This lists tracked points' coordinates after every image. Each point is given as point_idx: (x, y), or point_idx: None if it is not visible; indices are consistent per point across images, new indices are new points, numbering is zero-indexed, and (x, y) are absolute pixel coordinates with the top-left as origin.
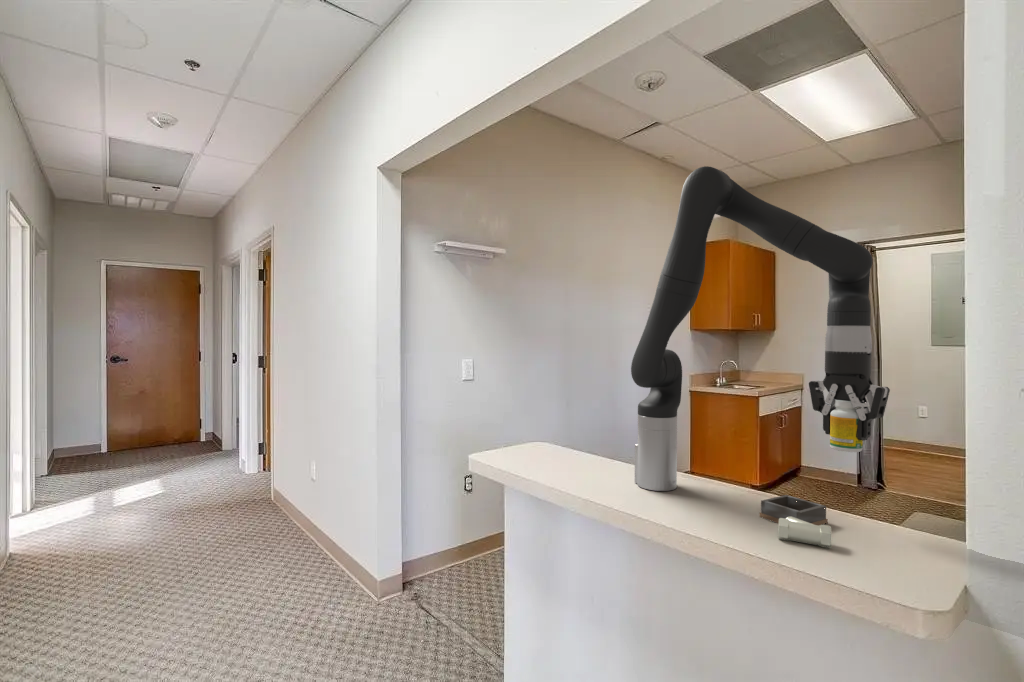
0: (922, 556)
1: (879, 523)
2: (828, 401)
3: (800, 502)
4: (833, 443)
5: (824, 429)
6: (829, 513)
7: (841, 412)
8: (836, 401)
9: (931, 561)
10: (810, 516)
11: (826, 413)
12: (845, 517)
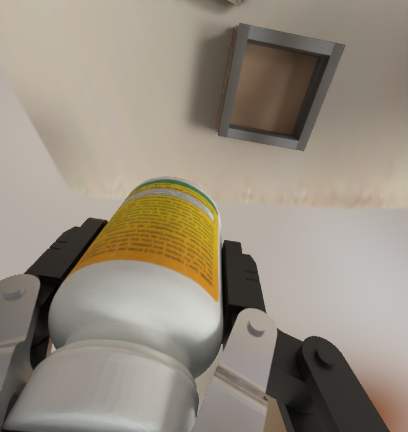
0: (54, 82)
1: None
2: (233, 411)
3: (268, 134)
4: (194, 191)
5: (247, 258)
6: (231, 187)
7: (121, 298)
8: (152, 411)
9: (34, 67)
10: (229, 72)
11: (244, 318)
12: (206, 186)
